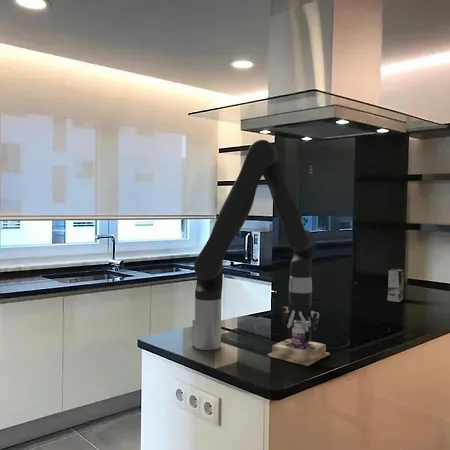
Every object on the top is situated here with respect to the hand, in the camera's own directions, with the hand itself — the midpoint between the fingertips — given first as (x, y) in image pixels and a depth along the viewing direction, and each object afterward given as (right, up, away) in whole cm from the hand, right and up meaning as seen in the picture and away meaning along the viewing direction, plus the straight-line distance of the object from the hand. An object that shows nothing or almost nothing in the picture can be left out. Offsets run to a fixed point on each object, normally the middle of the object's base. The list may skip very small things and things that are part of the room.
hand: (299, 340), depth 164 cm
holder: (0, -5, 0) cm, 5 cm away
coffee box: (+65, -2, +96) cm, 116 cm away
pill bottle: (0, -4, 0) cm, 4 cm away
